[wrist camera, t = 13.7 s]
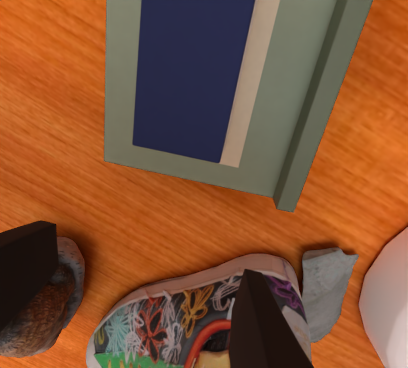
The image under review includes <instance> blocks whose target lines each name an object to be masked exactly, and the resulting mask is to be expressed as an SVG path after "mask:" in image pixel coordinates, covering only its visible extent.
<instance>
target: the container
mask: <svg viewBox="0 0 408 368" xmlns="http://www.w3.org/2000/svg"><path fill="white" fill-rule="evenodd" d="M359 309H360V313H361V317H362V321H363V325H364V330H365V332H366V334H367V336H368V337H369V339H370V341H371V343H372V345H373V347H374V349H375V350H376V352H377V354H378V356H379V358H380V360H381V361H382V363H383V365H384V367H385V368H408V227H407V228H406V229H405V230H403V231H402V232H401V233H400V234H399V235H397V236H396V237H395V238H394V239H392V240H391V241H390V242H389V243H388V244H386V245H385V247H384V248H383V250H382V251H381V253H380V254H379V256H378V257H377V259H376V260H375V262H374V263H373V265H372V266H371V267H370V269H369V270H368V272H367V273H366V275H365V278H364V282H363V287H362V291H361V296H360V300H359Z"/></svg>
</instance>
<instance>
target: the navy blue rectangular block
mask: <svg viewBox="0 0 408 368" xmlns="http://www.w3.org/2000/svg"><path fill="white" fill-rule="evenodd" d="M257 1H258V0H141V13H140V29H139V45H138V61H137V77H136V93H135V109H134V124H133V140H132V144H133V145H134V146H138V147H143V148H148V149H153V150H157V151H162V152H167V153H171V154H176V155H181V156H186V157H190V158H195V159H200V160H204V161H209V162H214V163H220V160H221V156H222V152H224V151H225V147H226V143H227V138H228V133H229V129H230V124H231V120H232V115H233V111H234V106H235V102H236V97H237V92H238V88H239V83H240V79H241V74H242V70H243V65H244V61H245V56H246V52H247V47H248V42H249V38H250V33H251V29H252V24H253V20H254V15H255V11H256V6H257Z"/></svg>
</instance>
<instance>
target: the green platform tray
mask: <svg viewBox="0 0 408 368" xmlns="http://www.w3.org/2000/svg"><path fill="white" fill-rule="evenodd" d="M372 2H373V0H258V1H257V6H256V11H255V15H254V20H253V24H252V29H251V33H250V38H249V42H248V47H247V52H246V56H245V61H244V65H243V70H242V74H241V79H240V83H239V88H238V92H237V97H236V102H235V106H234V111H233V115H232V120H231V124H230V129H229V133H228V138H227V143H226V147H225V151H224V152H222V156H221V160H220V163H214V162H209V161H204V160H200V159H195V158H190V157H186V156H181V155H176V154H171V153H167V152H162V151H157V150H153V149H148V148H143V147H138V146H134V145H133V144H132V140H133V124H134V109H135V93H136V77H137V61H138V45H139V29H140V13H141V0H106V62H105V124H104V161H105V162H110V163H114V164H119V165H124V166H128V167H133V168H137V169H142V170H147V171H151V172H156V173H160V174H165V175H170V176H174V177H179V178H184V179H188V180H193V181H197V182H202V183H207V184H211V185H216V186H220V187H225V188H230V189H234V190H239V191H243V192H248V193H253V194H257V195H262V196H266V197H271V198H273V200H274V203H275V206H276V209H279V210H283V211H288V212H294V210H295V208H296V205H297V202H298V200H299V197H300V194H301V191H302V189H303V186H304V183H305V181H306V178H307V175H308V173H309V170H310V167H311V165H312V162H313V159H314V157H315V154H316V151H317V149H318V146H319V143H320V141H321V138H322V135H323V133H324V130H325V127H326V125H327V122H328V119H329V117H330V114H331V111H332V109H333V106H334V103H335V101H336V98H337V95H338V93H339V90H340V87H341V85H342V82H343V79H344V77H345V74H346V71H347V69H348V66H349V63H350V61H351V58H352V55H353V53H354V50H355V47H356V45H357V42H358V39H359V37H360V34H361V31H362V29H363V26H364V23H365V21H366V18H367V15H368V13H369V10H370V7H371V5H372Z"/></svg>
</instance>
